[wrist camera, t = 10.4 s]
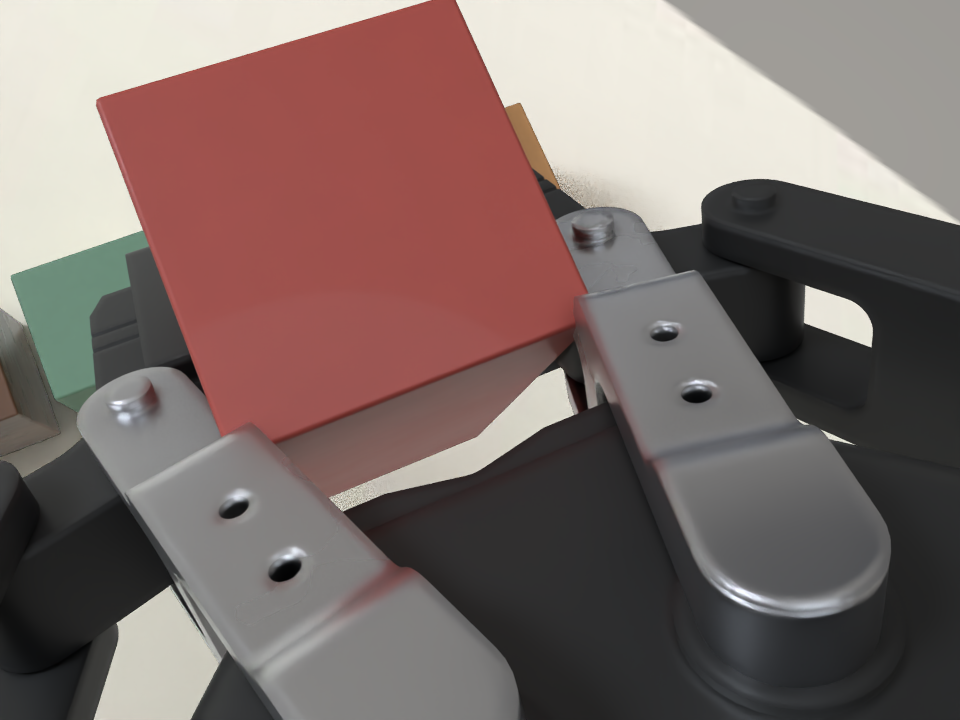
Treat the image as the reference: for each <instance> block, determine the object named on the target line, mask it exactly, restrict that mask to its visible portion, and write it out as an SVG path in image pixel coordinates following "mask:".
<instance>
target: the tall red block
mask: <svg viewBox="0 0 960 720" xmlns="http://www.w3.org/2000/svg"><path fill="white" fill-rule="evenodd" d="M96 107H97V109H98V112H99V115H100V117H101V120H102V123H103V125H104V128H105V131H106V133H107V136H108V139H109V141H110V144H111V146H112V149H113V152H114V154H115V157H116V160H117V162H118V165H119V168H120V170H121V173H122V176H123V178H124V181H125V184H126V186H127V189H128V192H129V194H130V197H131V199H132V202H133V205H134V207H135V210H136V213H137V215H138V218H139V221H140V223H141V226H142V229H143V231H144V234H145V237H146V239H147V242H148V244H149V247H150V250H151V252H152V255H153V258H154V260H155V263H156V266H157V268H158V271H159V274H160V276H161V279H162V282H163V284H164V287H165V289H166V292H167V295H168V297H169V300H170V303H171V305H172V308H173V311H174V313H175V316H176V319H177V321H178V324H179V327H180V329H181V332H182V334H183V337H184V340H185V342H186V345H187V348H188V350H189V353H190V356H191V358H192V361H193V364H194V366H195V369H196V372H197V374H198V377H199V380H200V382H201V385H202V387H203V390H204V393H205V395H206V398H207V401H208V403H209V406H210V409H211V411H212V414H213V417H214V419H215V422H216V425H217V427H218V430H219V432H220V435H221V437H223V436H225V435H227V434H228V433H230V432H232V431H234V430H236V429H237V428H239V427H241V426H243V425H244V424H246V423H248V422H251V423H253V424H254V425H256V426H257V427H258V428H259V429H260V430H261V431H262V432H263V433H264V434H265V435H266V436H267V437H268V438H269V439H270V440H271V441H272V442H273V443H274V444H275V445H276V446H277V447H278V448H279V449H280V450H281V451H282V452H283V453H284V454H285V455H286V456H287V457H288V458H289V459H290V460H291V461H292V462H293V463H294V464H295V465H296V466H297V467H298V468H299V469H300V470H301V471H302V472H303V473H304V474H305V475H306V476H307V477H308V478H309V479H310V480H311V481H312V482H313V483H314V484H315V485H316V486H317V487H318V488H319V489H320V490H321V491H322V492H323V493H324V494H325V495H326V496H327V497H328V498H329V497H331V496H334V495H336V494H339V493H341V492H344V491H346V490H348V489H351V488H353V487H356V486H358V485H361V484H363V483H365V482H368V481H370V480H373V479H375V478H378V477H380V476H383V475H385V474H387V473H390V472H392V471H395V470H397V469H400V468H402V467H404V466H407V465H409V464H412V463H414V462H417V461H419V460H421V459H424V458H426V457H429V456H431V455H434V454H436V453H439V452H441V451H443V450H446V449H448V448H451V447H453V446H456V445H458V444H460V443H463V442H465V441H468V440H470V439H473V438H475V437H477V436H478V435H479V434H480V433H481V432H482V431H483V430H484V429H485V428H486V427H487V426H488V425H489V424H490V423H491V422H492V421H493V420H494V419H495V418H496V417H497V416H498V415H499V414H501V413H502V412H503V411H504V410H505V409H506V408H507V407H508V406H509V405H510V404H511V403H512V402H513V401H514V400H515V399H516V398H517V397H518V396H519V395H520V394H521V393H522V392H523V391H524V390H525V389H526V388H527V387H528V386H529V385H530V384H531V383H532V382H533V381H534V380H535V379H536V378H537V377H538V376H539V375H540V374H541V373H542V372H543V371H544V370H545V369H546V368H547V367H548V366H549V365H550V364H551V363H552V362H553V361H554V360H555V359H556V358H557V357H558V356H559V355H560V354H561V353H562V352H563V351H564V350H565V349H566V348H567V347H568V346H569V345H570V344H571V343H572V342H573V341H574V337H573V334H574V332H575V329H576V323H575V318H574V314H573V309H574V297H575V296H579V295H584V294H588V291H587V288H586V286H585V284H584V282H583V280H582V277H581V275H580V273H579V271H578V269H577V266H576V264H575V262H574V260H573V258H572V255H571V253H570V251H569V249H568V247H567V244H566V242H565V240H564V238H563V236H562V233H561V231H560V229H559V227H558V225H557V222H556V220H555V218H554V216H553V214H552V211H551V209H550V207H549V205H548V203H547V200H546V198H545V196H544V194H543V192H542V189H541V187H540V185H539V183H538V181H537V178H536V176H535V174H534V172H533V170H532V167H531V165H530V163H529V161H528V159H527V156H526V154H525V152H524V150H523V148H522V145H521V143H520V141H519V139H518V137H517V134H516V132H515V130H514V128H513V126H512V123H511V121H510V119H509V117H508V115H507V112H506V110H505V108H504V106H503V104H502V101H501V99H500V97H499V95H498V93H497V90H496V88H495V86H494V84H493V82H492V79H491V77H490V75H489V73H488V71H487V68H486V66H485V64H484V62H483V60H482V57H481V55H480V53H479V51H478V49H477V46H476V44H475V42H474V40H473V38H472V35H471V33H470V31H469V29H468V27H467V24H466V22H465V20H464V18H463V15H462V13H461V11H460V9H459V7H458V4H457V2H456V0H431V1H427V2H424V3H420V4H417V5H414V6H410V7H407V8H403V9H400V10H397V11H393V12H390V13H386V14H383V15H380V16H376V17H373V18H369V19H366V20H363V21H359V22H356V23H352V24H349V25H346V26H342V27H339V28H335V29H332V30H329V31H325V32H322V33H318V34H315V35H312V36H308V37H305V38H301V39H298V40H295V41H291V42H288V43H284V44H281V45H278V46H274V47H271V48H267V49H264V50H261V51H257V52H254V53H250V54H247V55H244V56H240V57H237V58H233V59H230V60H227V61H223V62H220V63H216V64H213V65H210V66H206V67H203V68H199V69H196V70H193V71H189V72H186V73H182V74H179V75H176V76H172V77H169V78H165V79H162V80H159V81H155V82H152V83H148V84H145V85H142V86H138V87H135V88H131V89H128V90H125V91H121V92H118V93H114V94H111V95H108V96H104V97H101V98H99V99H97V102H96Z"/></svg>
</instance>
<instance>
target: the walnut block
mask: <svg viewBox="0 0 960 720" xmlns="http://www.w3.org/2000/svg"><path fill="white" fill-rule="evenodd" d="M59 434H60V429H59V426H58V423H57V421H56V418H55V415H54V412H53V410H52V407H51V404H50V401H49V398H48V396H47V393H46V390H45V387H44V385H43V382H42V379H41V376H40V373H39V371H38V368H37V365H36V362H35V360H34V357H33V354H32V351H31V349H30V346H29V343H28V340H27V337H26V335H25V332H24V329H23V326H22V324H21V323H20V322H19V321H17V320H16V319H15V318H13V317H12V316H11V315H9V314H8V313H6V312H5V311H4V310H2V309H1V308H0V457H1V456H4V455H6V454H9V453H12V452H14V451H17V450H19V449H22V448H25V447H27V446H30V445H33V444H35V443H38V442H41V441H43V440H46V439H48V438H51V437H54V436H56V435H59Z"/></svg>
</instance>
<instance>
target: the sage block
mask: <svg viewBox="0 0 960 720" xmlns="http://www.w3.org/2000/svg"><path fill="white" fill-rule="evenodd" d="M148 246H149V244H148V242H147V239H146V237H145V234H144V231H140V232H137V233H134V234H131V235H128V236H126V237H123V238H120V239H117V240H114V241H111V242H108V243H105V244H102V245H99V246H96V247H93V248H90V249H87V250H84V251H81V252H78V253H75V254H72V255H69V256H67V257H64V258H61V259H58V260H55V261H52V262H49V263H46V264H43V265H40V266H37V267H34V268H31V269H28V270H25V271H22V272H19V273H16V274H13V275H12V276H11V280H12V283H13V286H14V289H15V291H16V294H17V297H18V300H19V302H20V305H21V308H22V311H23V313H24V316H25V319H26V322H27V324H28V327H29V330H30V333H31V335H32V338H33V341H34V344H35V347H36V349H37V352H38V355H39V358H40V360H41V363H42V366H43V369H44V371H45V374H46V377H47V380H48V382H49V385H50V388H51V391H52V394H53V396H54V399H55V400H56V401H58V402H60V403H62V404H63V405H65V406H67V407H69V408H71V409H72V410H74V411H76V412H79V410H80V408H81V407H82V405H83V404H84V403H85V401H86V400H87V399H88V398H89V397H90V396H91V395H92V394H94V393H95V392H96V385H95V374H94V363H93V353H94V352H93V350H92V340H91V339H92V336H91V329H90V318H89V317H90V315H91V314H92V312H93V310H94V309H95V307H96V305H97V304H98V302H99V300H100V299H101V297H102V296H104V295H107V294H110V293H112V292H115V291H118V290H121V289H124V288H127V287H130V280H129V274H128V269H127V263H126V258H125V254H127V253H130V252H133V251H136V250H139V249H142V248H145V247H148Z"/></svg>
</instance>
